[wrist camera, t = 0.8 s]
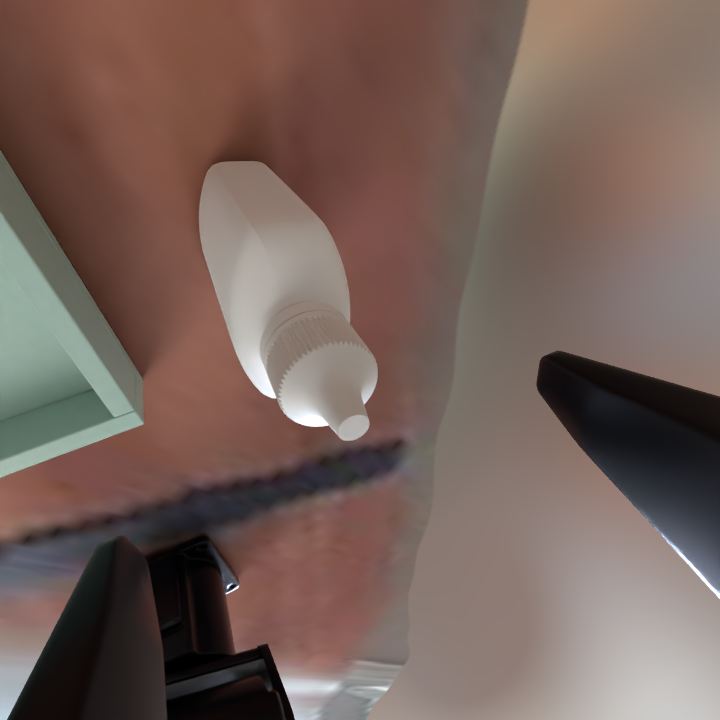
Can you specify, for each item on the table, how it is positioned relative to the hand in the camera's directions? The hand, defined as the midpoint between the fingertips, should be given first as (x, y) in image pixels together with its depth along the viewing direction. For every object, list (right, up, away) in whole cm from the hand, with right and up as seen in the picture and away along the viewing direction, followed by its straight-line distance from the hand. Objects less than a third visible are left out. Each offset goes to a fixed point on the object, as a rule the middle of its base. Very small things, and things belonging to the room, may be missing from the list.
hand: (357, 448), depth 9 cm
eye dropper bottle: (-5, +7, +9) cm, 13 cm away
